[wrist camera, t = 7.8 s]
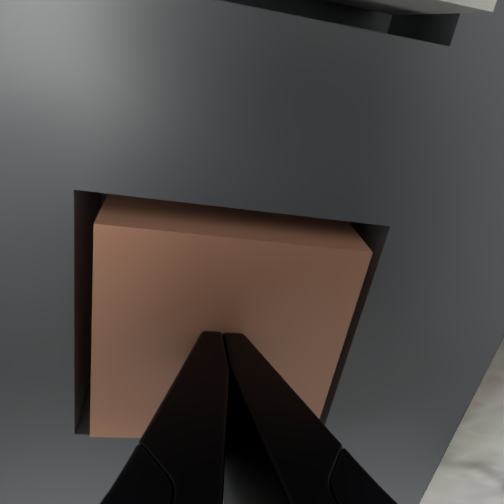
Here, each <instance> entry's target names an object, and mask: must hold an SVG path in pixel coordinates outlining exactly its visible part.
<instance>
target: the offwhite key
mask: <svg viewBox="0 0 504 504" xmlns="http://www.w3.org/2000/svg"><path fill="white" fill-rule="evenodd" d="M326 1H331V2H336V3H340V4H345V5H350V6H355V7H359V8H364V9H369V10H374V11H378V12H383V13H388V14H393V15H422V14H452V13H481V12H493V10H494V7H495V5H496V2H497V0H326Z"/></svg>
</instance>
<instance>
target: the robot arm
mask: <svg viewBox="0 0 504 504" xmlns="http://www.w3.org/2000/svg"><path fill="white" fill-rule="evenodd" d="M342 447H343V446H342V444H341V443H340V442H339V441H338V440H337V438H336V437H335V436H334V435H333V434H332V433H331V432H330V431H329V429H328V428H327V427H326V426H325V425H324V424H323V423H322V421H321V420H320V419H319V418H318V417H317V416H316V415H315V414H314V412H313V411H312V410H311V409H310V408H309V407H308V406H307V405H306V403H305V402H304V401H303V400H302V399H301V398H300V397H299V396H298V394H297V393H296V392H295V391H294V390H293V389H292V388H291V386H290V385H289V384H288V383H287V382H286V381H285V380H284V379H283V377H282V376H281V375H280V374H279V373H278V372H277V371H276V370H275V368H274V367H273V366H272V365H271V364H270V363H269V362H268V361H267V359H266V358H265V357H264V356H263V355H262V354H261V353H260V351H259V350H258V349H257V348H256V347H255V346H254V345H253V344H252V342H251V341H250V340H249V339H248V338H247V337H246V336H245V335H244V334H243V333H231V332H225V333H224V334H222V333H221V332H215V331H203V332H202V333H201V334H200V336H199V337H198V339H197V341H196V343H195V344H194V346H193V348H192V350H191V351H190V353H189V355H188V357H187V358H186V360H185V362H184V364H183V365H182V367H181V369H180V371H179V372H178V374H177V376H176V378H175V379H174V381H173V383H172V385H171V386H170V388H169V390H168V392H167V393H166V395H165V397H164V399H163V400H162V402H161V404H160V406H159V407H158V409H157V411H156V413H155V414H154V416H153V418H152V420H151V421H150V423H149V425H148V427H147V428H146V430H145V432H144V434H143V435H142V437H141V439H140V441H139V443H138V445H137V446H136V447H135V449H134V451H133V452H132V454H131V456H130V458H129V459H128V461H127V463H126V464H125V466H124V468H123V469H122V471H121V472H120V474H119V476H118V477H117V479H116V480H115V482H114V484H113V485H112V487H111V488H110V490H109V491H108V493H107V494H106V495H105V497H104V498H103V499H102V501H101V502H100V504H223V501H224V504H398V503H397V502H396V501H395V500H394V499H393V498H392V497H390V496H389V495H388V494H387V493H386V492H385V491H384V490H383V489H382V488H381V487H380V486H379V485H378V483H377V482H376V481H375V480H374V479H373V478H372V477H371V476H370V475H369V474H368V473H367V472H366V471H365V469H364V468H363V467H362V466H361V465H360V464H359V463H358V462H357V461H356V460H355V459H354V457H353V456H352V455H351V454H350V453H349V452H348V451H347V449H345V448H343V449H342Z"/></svg>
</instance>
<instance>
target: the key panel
mask: <svg viewBox="0 0 504 504" xmlns="http://www.w3.org/2000/svg"><path fill="white" fill-rule="evenodd" d="M108 194H115V195H124V196H132V197H141V198H150V199H158V200H167V201H175V202H184V203H193V204H201V205H210V206H219V207H227V208H236V209H245V210H253V211H262V212H271V213H279V214H288V215H296V216H305V217H314V218H322V219H331V220H340V221H348V222H349V223H350V224H351V226H352V227H353V228H354V229H355V231H356V232H357V233H358V234H359V236H360V237H361V238H362V239H363V241H364V242H365V243H366V244H367V246H368V247H369V248H370V250H371V251H372V252H373V253H372V257H371V260H370V263H369V266H368V269H367V272H366V275H365V278H364V282H363V285H362V288H361V291H360V294H359V297H358V300H357V303H356V307H355V310H354V313H353V316H352V319H351V322H350V325H349V328H348V332H347V335H346V338H345V341H344V344H343V347H342V350H341V353H340V357H339V360H338V363H337V366H336V369H335V372H334V375H333V379H332V382H331V385H330V388H329V391H328V394H327V397H326V400H325V404H324V407H323V410H322V413H321V416H320V420H321V421H322V423H323V424H324V425H325V426H326V427H327V428H328V429H329V431H330V432H331V433H332V434H333V435H334V436H335V437H336V438H337V440H338V441H339V442H340V443H341V444H342V446H343V447H342V449H343V448H345V449H347V451H348V452H349V453H350V454H351V455H352V456H353V457H354V459H355V460H356V461H357V462H358V463H359V464H360V465H361V466H362V467H363V468H364V469H365V471H366V472H367V473H368V474H369V475H370V476H371V477H372V478H373V479H374V480H375V481H376V482H377V483H378V485H379V486H380V487H381V488H382V489H383V490H384V491H385V492H386V493H387V494H388V495H389V496H390V497H392V498H393V499H394V500H395V501H396V502H397V503H398V504H419V503H420V501H421V499H422V497H423V495H424V493H425V491H426V489H427V487H428V485H429V483H430V481H431V479H432V477H433V475H434V473H435V471H436V469H437V468H438V466H439V464H440V462H441V460H442V458H443V456H444V454H445V452H446V450H447V448H448V446H449V444H450V442H451V440H452V438H453V436H454V434H455V432H456V430H457V428H458V426H459V424H460V422H461V420H462V418H463V416H464V414H465V412H466V410H467V408H468V406H469V404H470V402H471V400H472V399H473V397H474V395H475V393H476V391H477V389H478V387H479V385H480V383H481V381H482V379H483V377H484V375H485V373H486V371H487V369H488V367H489V365H490V363H491V361H492V359H493V357H494V355H495V353H496V351H497V349H498V347H499V345H500V343H501V341H502V339H503V337H504V0H497V2H496V5H495V7H494V10H493V12H481V13H452V14H422V15H393V14H388V13H383V12H378V11H374V10H369V9H364V8H359V7H355V6H350V5H345V4H340V3H336V2H331V1H326V0H0V504H100V502H101V501H102V499H103V498H104V497H105V495H106V494H107V493H108V491H109V490H110V488H111V487H112V485H113V484H114V482H115V480H116V479H117V477H118V476H119V474H120V472H121V471H122V469H123V468H124V466H125V464H126V463H127V461H128V459H129V458H130V456H131V454H132V452H133V451H134V449H135V447H136V446H137V445H138V443H139V441H140V439H141V438H115V437H90V396H91V340H92V284H93V228H94V222H95V220H96V217H97V215H98V213H99V211H100V209H101V207H102V205H103V203H104V201H105V199H106V197H107V195H108ZM223 504H224V501H223Z"/></svg>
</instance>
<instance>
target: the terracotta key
mask: <svg viewBox="0 0 504 504" xmlns="http://www.w3.org/2000/svg"><path fill="white" fill-rule="evenodd" d="M372 253H373V252H372V251H371V250H370V248H369V247H368V246H367V244H366V243H365V242H364V241H363V239H362V238H361V237H360V236H359V234H358V233H357V232H356V231H355V229H354V228H353V227H352V226H351V224H350V223H349V222H348V221H340V220H331V219H322V218H314V217H305V216H296V215H288V214H279V213H271V212H262V211H253V210H245V209H236V208H227V207H219V206H210V205H201V204H193V203H184V202H175V201H167V200H158V199H150V198H141V197H132V196H124V195H115V194H108V195H107V197H106V199H105V201H104V203H103V205H102V207H101V209H100V211H99V213H98V215H97V217H96V220H95V222H94V228H93V284H92V340H91V396H90V437H115V438H141V437H142V435H143V434H144V432H145V430H146V428H147V427H148V425H149V423H150V421H151V420H152V418H153V416H154V414H155V413H156V411H157V409H158V407H159V406H160V404H161V402H162V400H163V399H164V397H165V395H166V393H167V392H168V390H169V388H170V386H171V385H172V383H173V381H174V379H175V378H176V376H177V374H178V372H179V371H180V369H181V367H182V365H183V364H184V362H185V360H186V358H187V357H188V355H189V353H190V351H191V350H192V348H193V346H194V344H195V343H196V341H197V339H198V337H199V336H200V334H201V333H202V332H203V331H215V332H221V333H222V334H224V333H225V332H231V333H243V334H244V335H245V336H246V337H247V338H248V339H249V340H250V341H251V342H252V344H253V345H254V346H255V347H256V348H257V349H258V350H259V351H260V353H261V354H262V355H263V356H264V357H265V358H266V359H267V361H268V362H269V363H270V364H271V365H272V366H273V367H274V368H275V370H276V371H277V372H278V373H279V374H280V375H281V376H282V377H283V379H284V380H285V381H286V382H287V383H288V384H289V385H290V386H291V388H292V389H293V390H294V391H295V392H296V393H297V394H298V396H299V397H300V398H301V399H302V400H303V401H304V402H305V403H306V405H307V406H308V407H309V408H310V409H311V410H312V411H313V412H314V414H315V415H316V416H317V417H318V418H319V419H320V416H321V413H322V410H323V407H324V404H325V400H326V397H327V394H328V391H329V388H330V385H331V382H332V379H333V375H334V372H335V369H336V366H337V363H338V360H339V357H340V353H341V350H342V347H343V344H344V341H345V338H346V335H347V332H348V328H349V325H350V322H351V319H352V316H353V313H354V310H355V307H356V303H357V300H358V297H359V294H360V291H361V288H362V285H363V282H364V278H365V275H366V272H367V269H368V266H369V263H370V260H371V257H372Z"/></svg>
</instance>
